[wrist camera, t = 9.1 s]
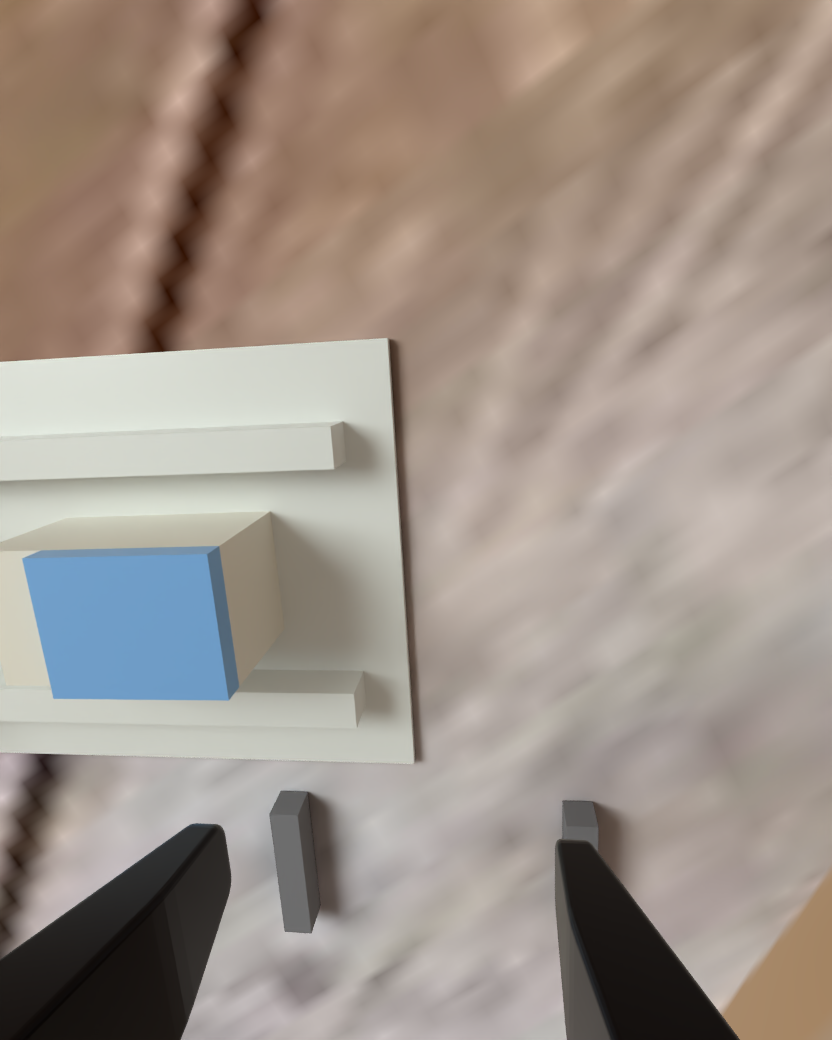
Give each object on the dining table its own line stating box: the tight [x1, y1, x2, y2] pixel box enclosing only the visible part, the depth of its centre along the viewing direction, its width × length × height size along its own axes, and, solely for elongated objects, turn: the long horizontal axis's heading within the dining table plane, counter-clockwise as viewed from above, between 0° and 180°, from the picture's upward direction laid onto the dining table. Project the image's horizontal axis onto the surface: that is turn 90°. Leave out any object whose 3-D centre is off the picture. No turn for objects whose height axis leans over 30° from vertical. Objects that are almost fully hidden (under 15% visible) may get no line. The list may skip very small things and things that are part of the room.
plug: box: [0, 511, 285, 701], centre depth 18 cm, size 4×7×4 cm, turn 94°
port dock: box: [0, 338, 415, 764], centre depth 20 cm, size 14×19×3 cm
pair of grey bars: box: [270, 791, 598, 933], centre depth 22 cm, size 5×11×1 cm, turn 93°
